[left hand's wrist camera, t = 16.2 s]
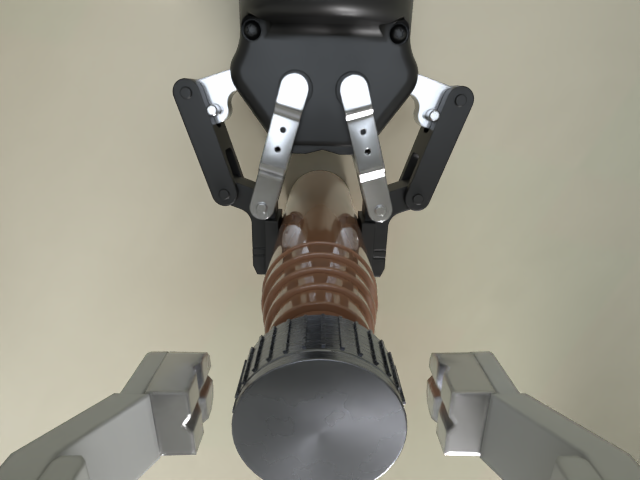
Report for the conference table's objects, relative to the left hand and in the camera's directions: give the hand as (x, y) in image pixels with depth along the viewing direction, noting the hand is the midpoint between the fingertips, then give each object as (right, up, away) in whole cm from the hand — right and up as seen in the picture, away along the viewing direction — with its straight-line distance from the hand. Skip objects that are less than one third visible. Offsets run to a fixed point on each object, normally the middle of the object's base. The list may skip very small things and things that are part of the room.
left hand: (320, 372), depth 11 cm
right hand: (0, +1, +12) cm, 12 cm away
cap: (0, -1, -2) cm, 2 cm away
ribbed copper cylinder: (0, +6, +17) cm, 18 cm away
